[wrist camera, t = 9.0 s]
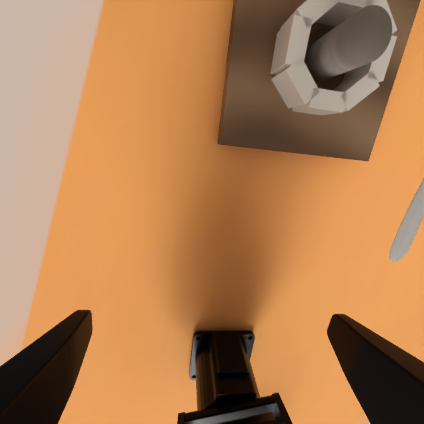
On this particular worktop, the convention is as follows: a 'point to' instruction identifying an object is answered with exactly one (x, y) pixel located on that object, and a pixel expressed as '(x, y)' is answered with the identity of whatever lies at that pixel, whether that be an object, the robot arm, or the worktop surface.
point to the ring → (298, 72)
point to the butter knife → (408, 226)
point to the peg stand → (321, 73)
